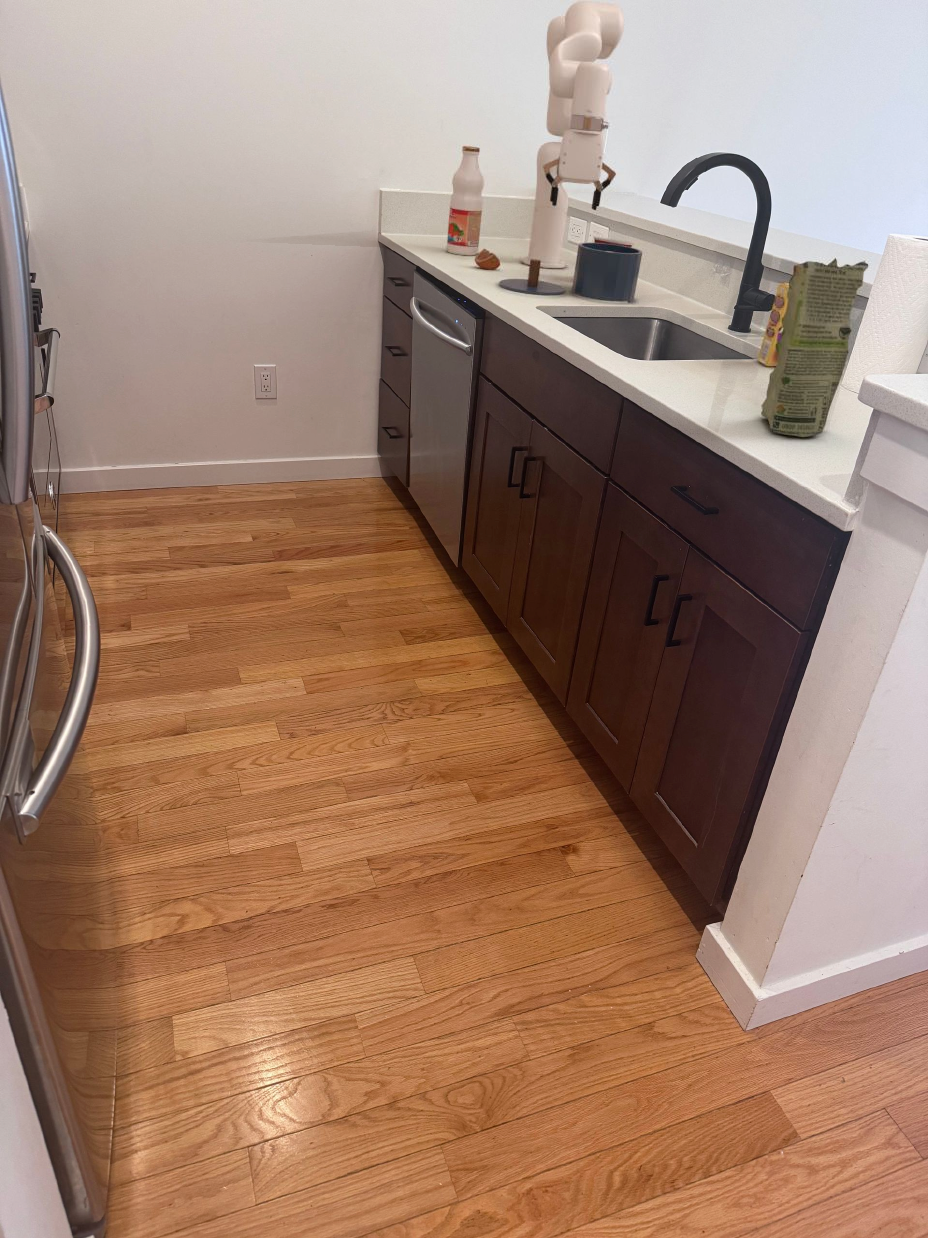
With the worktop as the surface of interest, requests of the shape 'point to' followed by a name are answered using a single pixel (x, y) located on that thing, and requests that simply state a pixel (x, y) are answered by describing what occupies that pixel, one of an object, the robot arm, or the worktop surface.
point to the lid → (532, 283)
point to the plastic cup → (612, 241)
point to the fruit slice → (487, 260)
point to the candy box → (774, 327)
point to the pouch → (812, 346)
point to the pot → (606, 272)
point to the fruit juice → (466, 205)
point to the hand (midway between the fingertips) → (573, 207)
